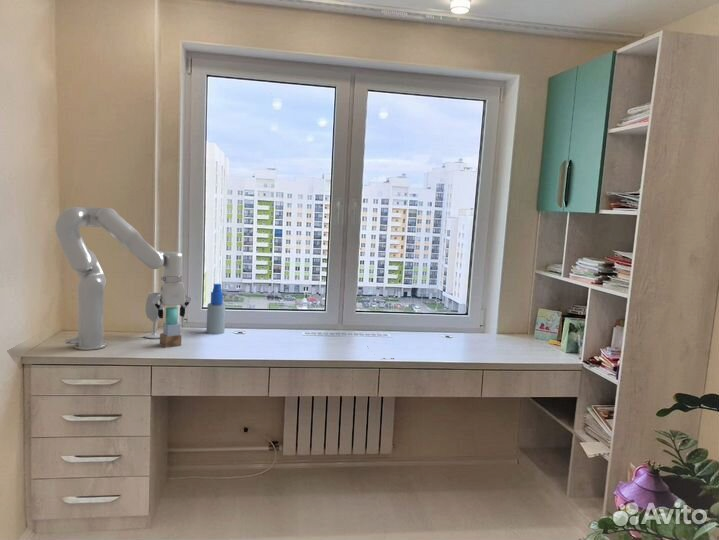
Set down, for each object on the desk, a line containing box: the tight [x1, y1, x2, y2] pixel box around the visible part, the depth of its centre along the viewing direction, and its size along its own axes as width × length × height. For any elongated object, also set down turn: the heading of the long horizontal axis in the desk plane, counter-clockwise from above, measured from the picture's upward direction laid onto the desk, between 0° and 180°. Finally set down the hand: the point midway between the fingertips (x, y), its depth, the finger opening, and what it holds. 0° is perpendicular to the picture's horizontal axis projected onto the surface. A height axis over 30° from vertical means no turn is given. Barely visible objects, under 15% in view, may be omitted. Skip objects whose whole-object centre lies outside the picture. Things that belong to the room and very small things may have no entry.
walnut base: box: [159, 332, 182, 348], centre depth 229 cm, size 7×7×5 cm
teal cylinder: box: [165, 306, 179, 325], centre depth 228 cm, size 5×5×7 cm
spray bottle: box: [205, 283, 226, 335], centre depth 258 cm, size 9×9×25 cm
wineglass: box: [143, 292, 165, 340], centre depth 240 cm, size 9×9×21 cm
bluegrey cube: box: [162, 322, 181, 336], centre depth 229 cm, size 6×6×5 cm
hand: (171, 317), depth 228 cm, fingers open, 9 cm apart
